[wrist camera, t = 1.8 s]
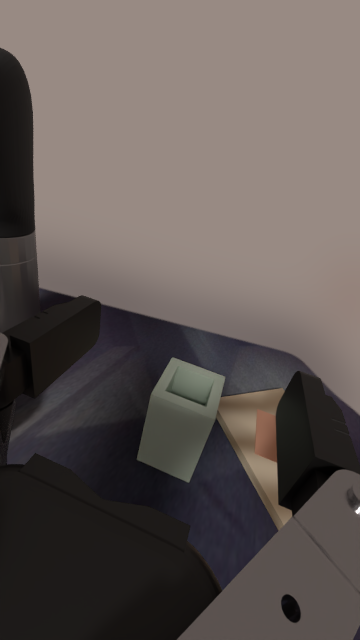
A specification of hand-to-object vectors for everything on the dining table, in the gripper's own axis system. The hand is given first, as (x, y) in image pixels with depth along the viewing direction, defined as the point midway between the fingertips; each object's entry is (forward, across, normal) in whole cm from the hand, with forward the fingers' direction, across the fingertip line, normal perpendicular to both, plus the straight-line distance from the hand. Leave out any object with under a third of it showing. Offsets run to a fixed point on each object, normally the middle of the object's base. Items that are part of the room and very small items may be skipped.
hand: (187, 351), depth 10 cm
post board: (+17, -13, +22) cm, 30 cm away
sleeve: (+11, 0, +22) cm, 24 cm away
